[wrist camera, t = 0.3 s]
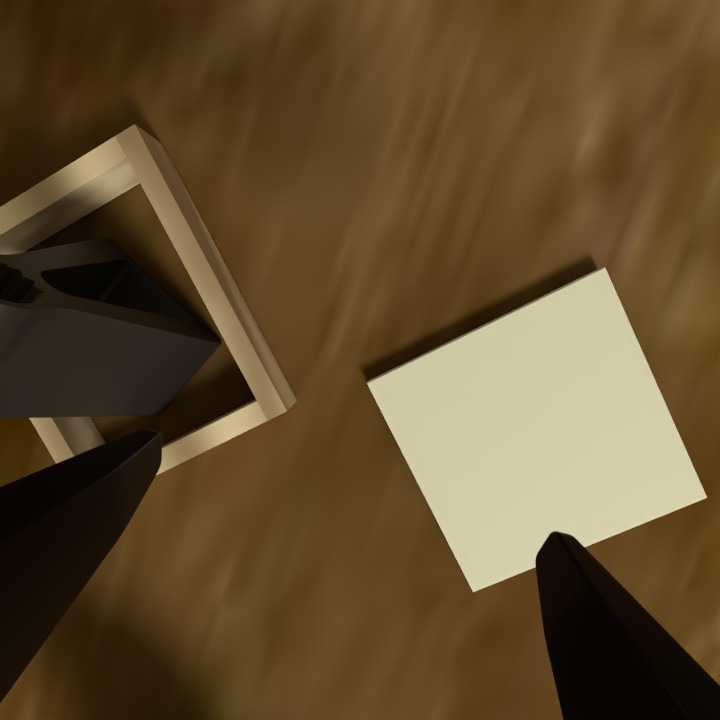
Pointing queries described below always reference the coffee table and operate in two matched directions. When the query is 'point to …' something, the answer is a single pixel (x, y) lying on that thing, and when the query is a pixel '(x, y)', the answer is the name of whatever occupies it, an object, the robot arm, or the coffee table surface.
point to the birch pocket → (199, 255)
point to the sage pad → (538, 431)
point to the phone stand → (92, 335)
